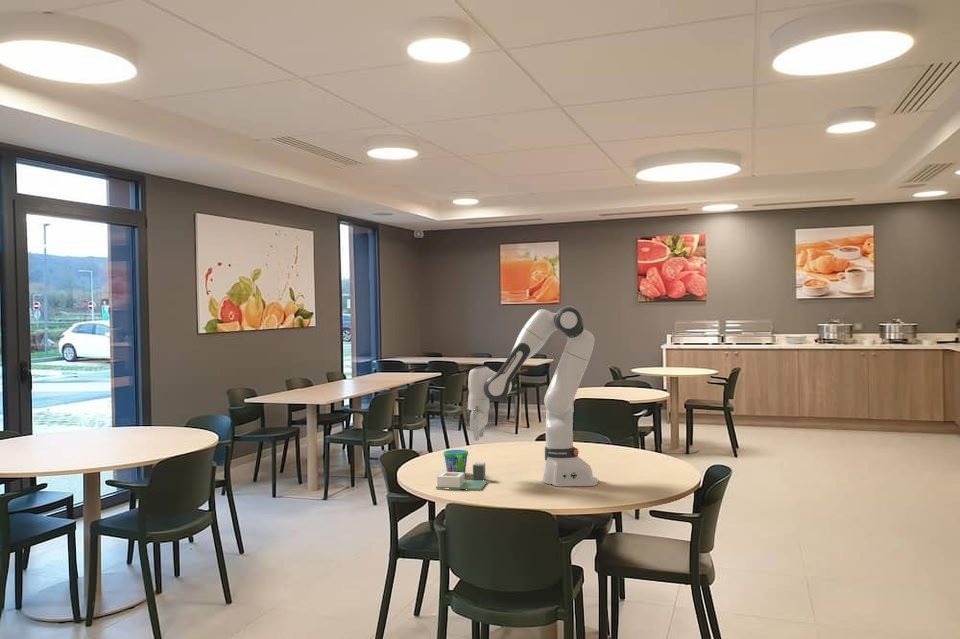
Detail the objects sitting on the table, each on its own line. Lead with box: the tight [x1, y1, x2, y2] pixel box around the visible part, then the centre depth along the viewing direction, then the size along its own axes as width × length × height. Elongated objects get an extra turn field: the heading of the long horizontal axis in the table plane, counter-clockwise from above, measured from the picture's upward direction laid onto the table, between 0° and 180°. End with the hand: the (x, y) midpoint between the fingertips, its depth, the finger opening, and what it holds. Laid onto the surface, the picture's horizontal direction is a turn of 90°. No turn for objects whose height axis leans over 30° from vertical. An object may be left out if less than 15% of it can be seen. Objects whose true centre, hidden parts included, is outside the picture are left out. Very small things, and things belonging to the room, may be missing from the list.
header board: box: [435, 471, 488, 492], centre depth 273 cm, size 18×14×5 cm
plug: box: [472, 461, 486, 481], centre depth 283 cm, size 5×4×7 cm
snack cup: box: [443, 449, 469, 474], centre depth 293 cm, size 16×10×10 cm
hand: (479, 438), depth 283 cm, fingers open, 8 cm apart
